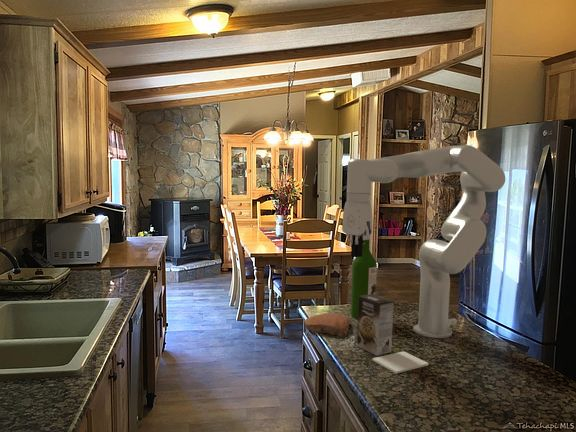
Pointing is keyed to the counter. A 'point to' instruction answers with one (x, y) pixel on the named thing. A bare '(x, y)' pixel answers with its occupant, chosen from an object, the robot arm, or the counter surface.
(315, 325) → the ceramic shard
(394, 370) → the white flat panel
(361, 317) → the coffee box
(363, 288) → the wine bottle
